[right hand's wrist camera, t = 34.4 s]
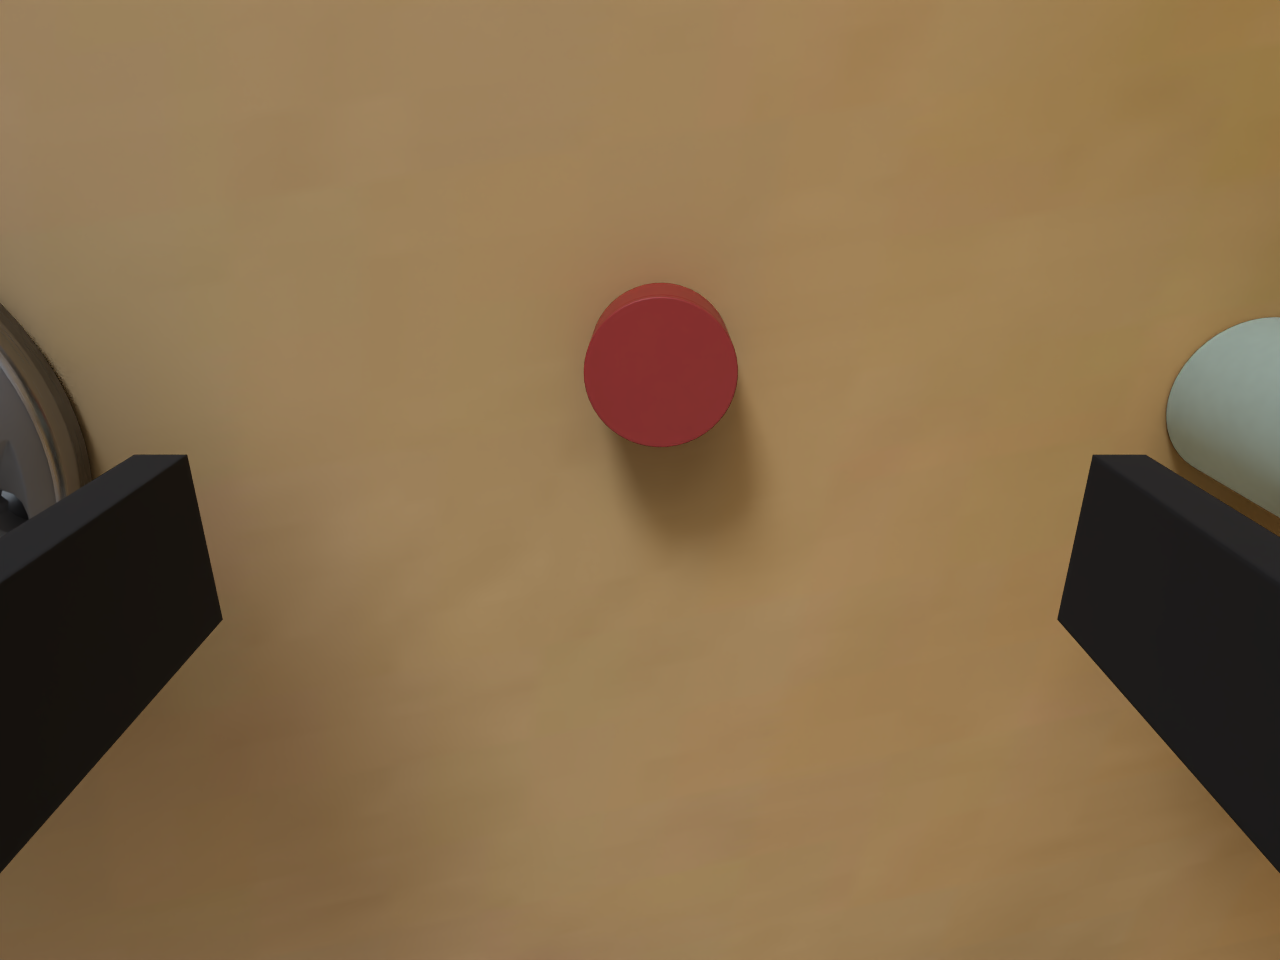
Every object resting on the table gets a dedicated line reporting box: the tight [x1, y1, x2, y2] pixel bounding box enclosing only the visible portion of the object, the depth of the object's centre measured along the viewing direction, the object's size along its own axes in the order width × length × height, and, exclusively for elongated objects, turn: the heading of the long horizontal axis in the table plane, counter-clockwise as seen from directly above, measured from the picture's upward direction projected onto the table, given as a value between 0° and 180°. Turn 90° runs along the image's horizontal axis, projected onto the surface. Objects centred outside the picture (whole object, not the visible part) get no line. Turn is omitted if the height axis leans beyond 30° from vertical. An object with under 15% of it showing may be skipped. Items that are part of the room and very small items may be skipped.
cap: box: [584, 283, 738, 447], centre depth 24 cm, size 4×4×3 cm
